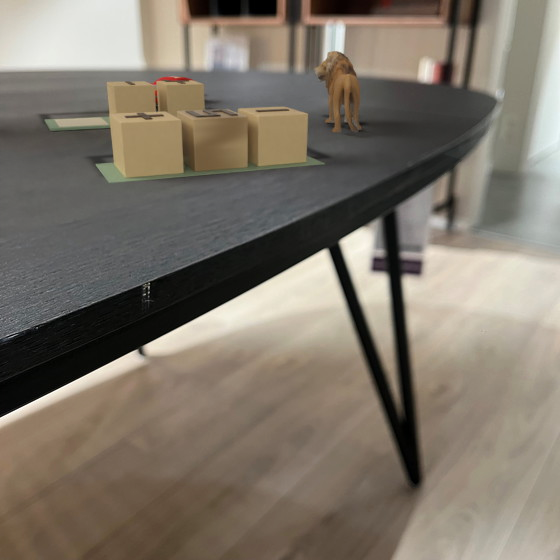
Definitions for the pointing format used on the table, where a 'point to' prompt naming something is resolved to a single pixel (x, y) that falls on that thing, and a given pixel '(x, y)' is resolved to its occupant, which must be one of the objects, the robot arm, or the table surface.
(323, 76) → the lion figurine
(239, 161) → the small cardboard box
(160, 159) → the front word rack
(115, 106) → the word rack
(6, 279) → the table surface
